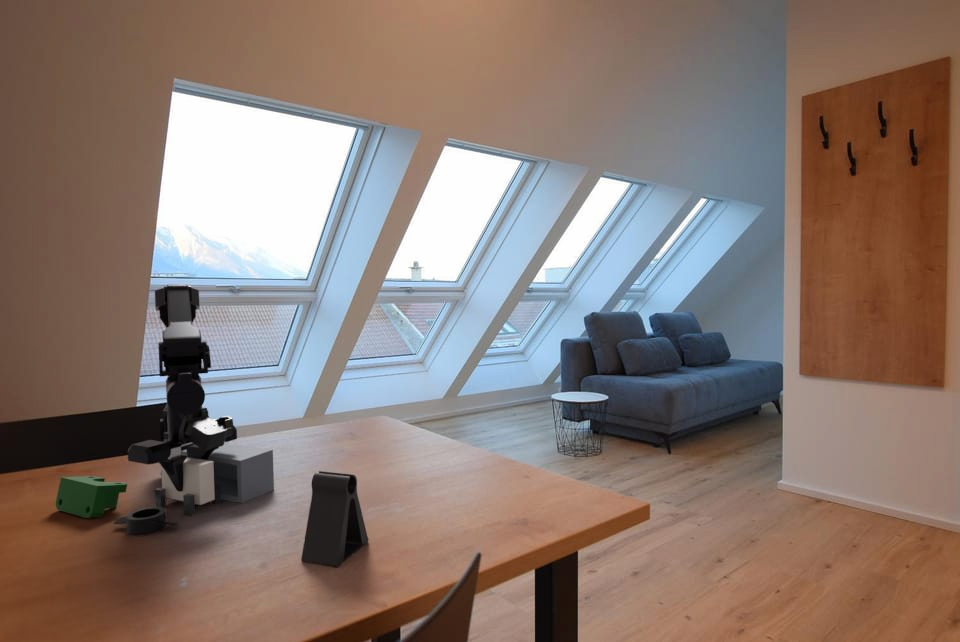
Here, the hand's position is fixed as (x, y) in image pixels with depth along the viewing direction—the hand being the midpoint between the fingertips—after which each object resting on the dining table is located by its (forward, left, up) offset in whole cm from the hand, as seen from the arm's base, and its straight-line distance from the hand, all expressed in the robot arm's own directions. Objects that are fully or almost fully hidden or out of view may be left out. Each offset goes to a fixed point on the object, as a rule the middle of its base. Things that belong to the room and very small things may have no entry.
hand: (187, 488), depth 109 cm
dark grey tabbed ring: (+3, -10, -4) cm, 11 cm away
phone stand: (+37, -4, -4) cm, 37 cm away
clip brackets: (0, 0, -3) cm, 3 cm away
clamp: (-14, -8, -4) cm, 17 cm away
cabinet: (0, +9, -3) cm, 10 cm away
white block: (0, 0, -2) cm, 2 cm away
